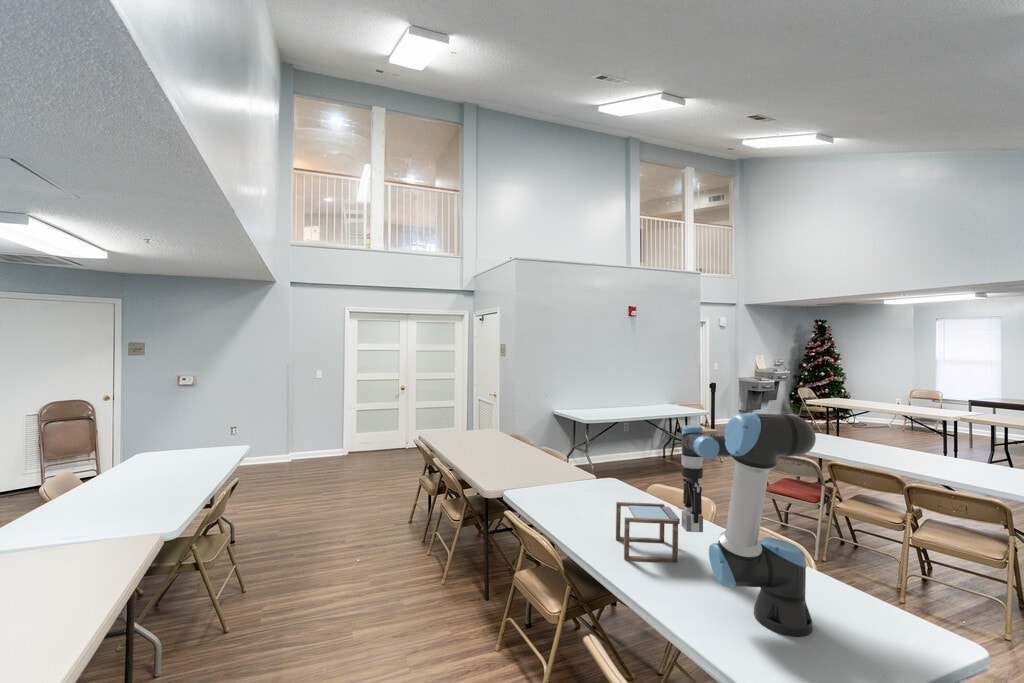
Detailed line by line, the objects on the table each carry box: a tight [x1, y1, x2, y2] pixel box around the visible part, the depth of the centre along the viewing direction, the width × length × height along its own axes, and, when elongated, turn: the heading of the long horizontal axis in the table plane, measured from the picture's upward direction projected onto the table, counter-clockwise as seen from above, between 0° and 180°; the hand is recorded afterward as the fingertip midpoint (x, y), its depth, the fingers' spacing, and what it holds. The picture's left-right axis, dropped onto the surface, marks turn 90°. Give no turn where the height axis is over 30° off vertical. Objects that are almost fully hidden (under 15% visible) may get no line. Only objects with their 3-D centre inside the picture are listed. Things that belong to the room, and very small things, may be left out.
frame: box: [615, 501, 679, 563], centre depth 185 cm, size 20×20×16 cm
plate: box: [628, 505, 681, 525], centre depth 185 cm, size 16×17×2 cm
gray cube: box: [681, 509, 704, 533], centre depth 173 cm, size 6×6×6 cm
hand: (692, 527), depth 173 cm, fingers closed on gray cube, 6 cm apart
